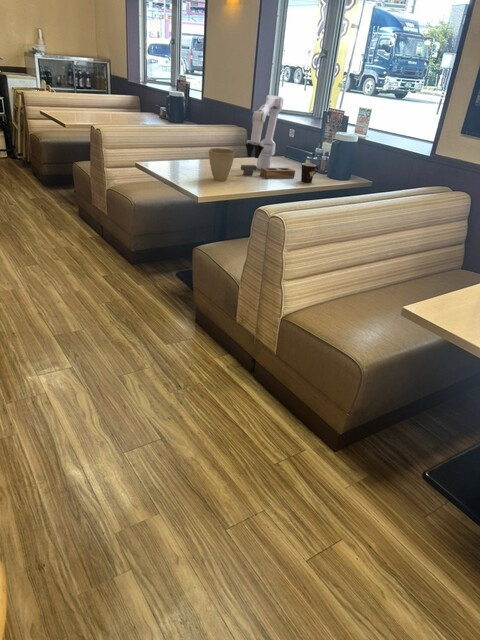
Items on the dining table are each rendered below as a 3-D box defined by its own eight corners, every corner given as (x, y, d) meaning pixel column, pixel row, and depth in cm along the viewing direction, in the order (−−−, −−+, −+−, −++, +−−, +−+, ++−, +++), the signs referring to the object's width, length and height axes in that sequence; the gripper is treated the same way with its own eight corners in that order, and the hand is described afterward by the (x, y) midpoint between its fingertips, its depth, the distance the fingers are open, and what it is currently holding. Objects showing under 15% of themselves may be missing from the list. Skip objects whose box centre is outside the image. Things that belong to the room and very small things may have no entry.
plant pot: (203, 176, 275) (205, 147, 267) (227, 176, 280) (229, 148, 272) (211, 182, 263) (213, 153, 255) (236, 182, 268) (238, 153, 260)
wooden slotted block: (260, 175, 291) (260, 167, 289) (287, 174, 300) (288, 167, 297) (266, 178, 285) (267, 170, 283) (294, 178, 293) (295, 170, 291)
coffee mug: (301, 182, 284) (304, 165, 279) (297, 179, 291) (300, 162, 286) (319, 183, 286) (322, 166, 281) (315, 180, 293) (318, 163, 289)
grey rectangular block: (240, 174, 288) (241, 164, 285) (253, 174, 292) (254, 164, 289) (242, 175, 286) (243, 165, 283) (255, 175, 290) (256, 165, 287)
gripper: (244, 131, 281) (240, 155, 286) (258, 133, 270) (254, 158, 275) (253, 133, 285) (249, 156, 290) (267, 135, 274) (264, 159, 279)
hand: (252, 157), depth 283 cm, fingers open, 7 cm apart
